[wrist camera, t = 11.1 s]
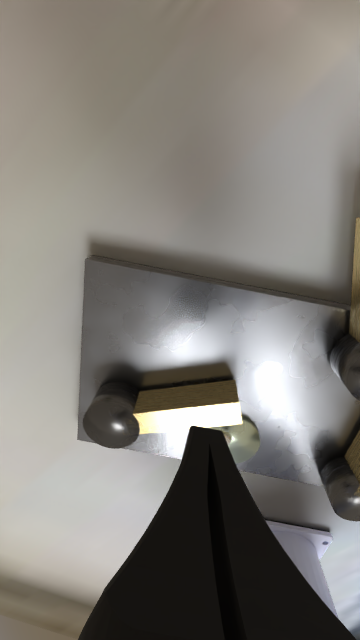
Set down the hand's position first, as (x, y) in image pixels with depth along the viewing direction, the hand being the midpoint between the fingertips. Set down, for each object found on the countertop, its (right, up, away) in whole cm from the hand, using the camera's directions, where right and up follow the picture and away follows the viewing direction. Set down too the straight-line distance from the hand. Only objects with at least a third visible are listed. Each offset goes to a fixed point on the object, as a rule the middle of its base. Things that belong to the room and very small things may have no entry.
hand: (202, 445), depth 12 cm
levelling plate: (+4, +1, +8) cm, 9 cm away
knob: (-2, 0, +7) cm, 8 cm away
